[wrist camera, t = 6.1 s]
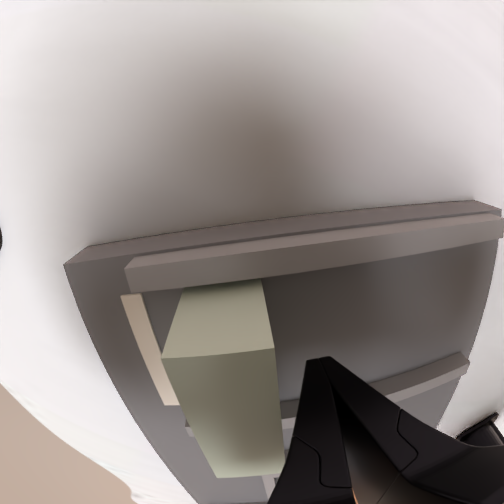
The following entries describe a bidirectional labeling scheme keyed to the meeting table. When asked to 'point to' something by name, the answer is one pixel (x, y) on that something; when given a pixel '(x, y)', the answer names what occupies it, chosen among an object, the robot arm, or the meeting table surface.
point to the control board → (298, 312)
